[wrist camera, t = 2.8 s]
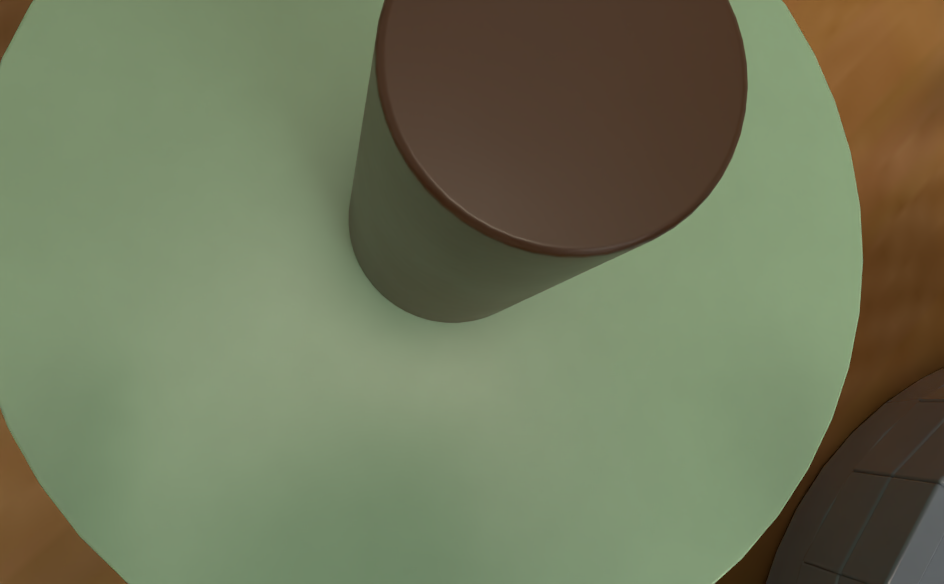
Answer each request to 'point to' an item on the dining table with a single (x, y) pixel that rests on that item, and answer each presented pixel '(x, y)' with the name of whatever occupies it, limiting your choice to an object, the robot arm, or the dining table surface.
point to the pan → (875, 501)
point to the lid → (422, 284)
